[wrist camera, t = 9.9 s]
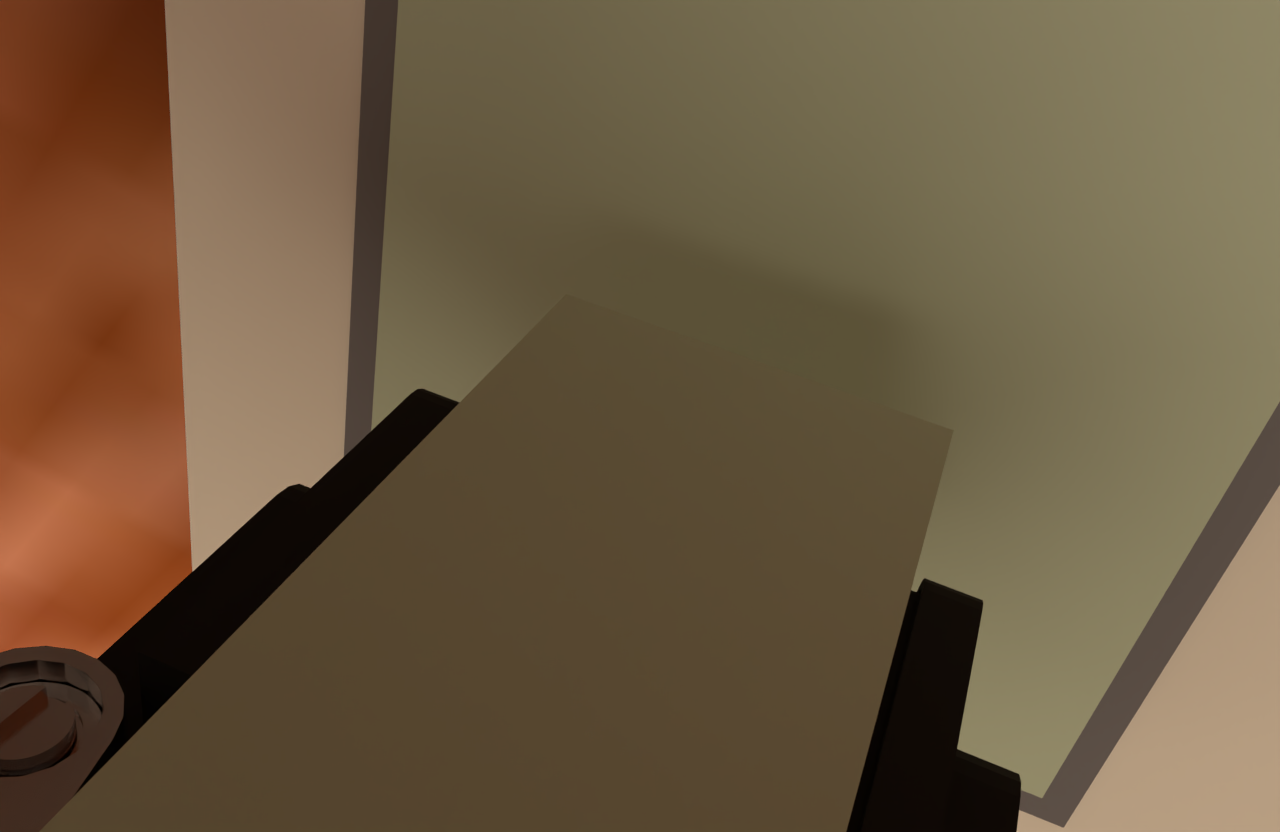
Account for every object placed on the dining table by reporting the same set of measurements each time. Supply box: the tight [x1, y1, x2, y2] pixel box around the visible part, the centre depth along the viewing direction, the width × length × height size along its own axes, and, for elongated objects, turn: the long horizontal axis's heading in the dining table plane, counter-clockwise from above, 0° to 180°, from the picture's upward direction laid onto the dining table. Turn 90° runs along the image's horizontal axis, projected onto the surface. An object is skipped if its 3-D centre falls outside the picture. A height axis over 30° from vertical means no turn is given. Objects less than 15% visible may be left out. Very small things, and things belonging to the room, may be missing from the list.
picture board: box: [165, 0, 1280, 832], centre depth 19 cm, size 26×18×1 cm
